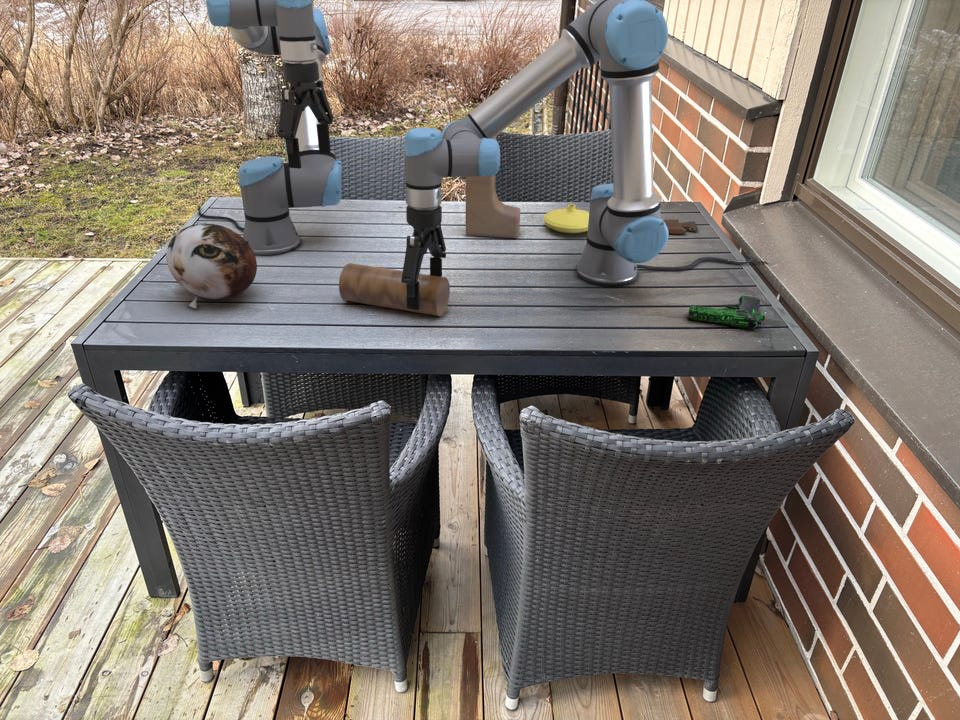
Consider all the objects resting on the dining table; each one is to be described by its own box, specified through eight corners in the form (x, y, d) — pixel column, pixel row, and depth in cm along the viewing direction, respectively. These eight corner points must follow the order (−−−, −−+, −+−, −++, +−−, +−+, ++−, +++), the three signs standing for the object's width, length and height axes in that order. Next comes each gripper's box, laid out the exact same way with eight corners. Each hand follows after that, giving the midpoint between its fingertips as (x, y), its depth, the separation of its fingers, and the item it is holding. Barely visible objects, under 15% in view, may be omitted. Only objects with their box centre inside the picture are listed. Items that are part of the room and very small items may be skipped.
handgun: (768, 297, 166) (764, 322, 154) (765, 309, 168) (761, 335, 156) (697, 286, 172) (687, 310, 159) (695, 297, 173) (685, 322, 161)
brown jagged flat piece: (700, 236, 208) (693, 224, 217) (701, 230, 207) (694, 219, 216) (612, 233, 208) (607, 221, 217) (613, 227, 207) (608, 216, 216)
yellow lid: (559, 216, 220) (561, 193, 217) (605, 227, 212) (608, 204, 209) (532, 230, 209) (533, 207, 206) (580, 242, 201) (582, 218, 198)
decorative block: (517, 239, 203) (521, 131, 188) (465, 235, 205) (465, 128, 189) (519, 230, 209) (524, 124, 194) (469, 226, 211) (469, 122, 196)
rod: (340, 306, 165) (337, 271, 161) (357, 291, 173) (355, 257, 168) (436, 322, 159) (435, 286, 155) (450, 306, 166) (449, 271, 162)
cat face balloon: (130, 285, 161) (164, 203, 163) (192, 308, 177) (221, 233, 178) (195, 307, 151) (229, 220, 152) (254, 330, 166) (285, 250, 168)
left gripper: (284, 71, 143) (296, 176, 154) (342, 54, 163) (350, 148, 174) (251, 68, 145) (266, 172, 156) (313, 52, 165) (322, 145, 176)
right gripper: (417, 226, 140) (419, 322, 150) (460, 190, 160) (459, 277, 171) (382, 221, 142) (386, 316, 152) (429, 186, 162) (430, 272, 173)
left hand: (310, 160), depth 165 cm, fingers open, 13 cm apart
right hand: (425, 296), depth 162 cm, fingers open, 13 cm apart
